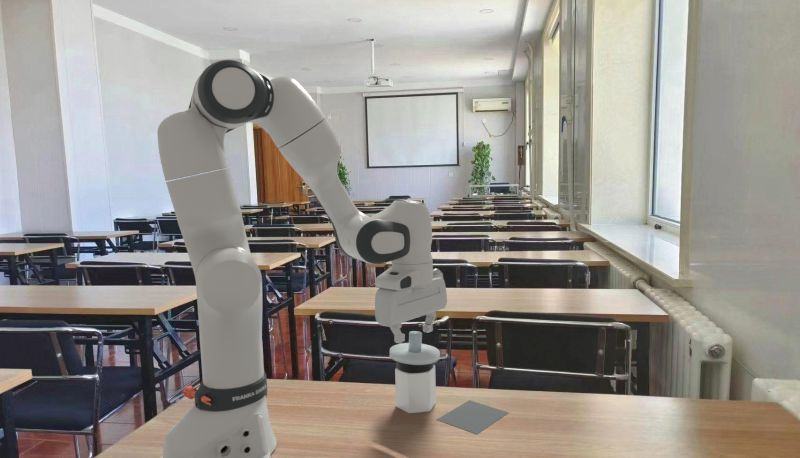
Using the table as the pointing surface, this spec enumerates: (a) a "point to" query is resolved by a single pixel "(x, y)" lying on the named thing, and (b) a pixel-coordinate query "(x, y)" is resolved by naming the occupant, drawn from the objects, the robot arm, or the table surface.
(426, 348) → the lid
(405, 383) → the jar
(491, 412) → the mat
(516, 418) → the table surface
